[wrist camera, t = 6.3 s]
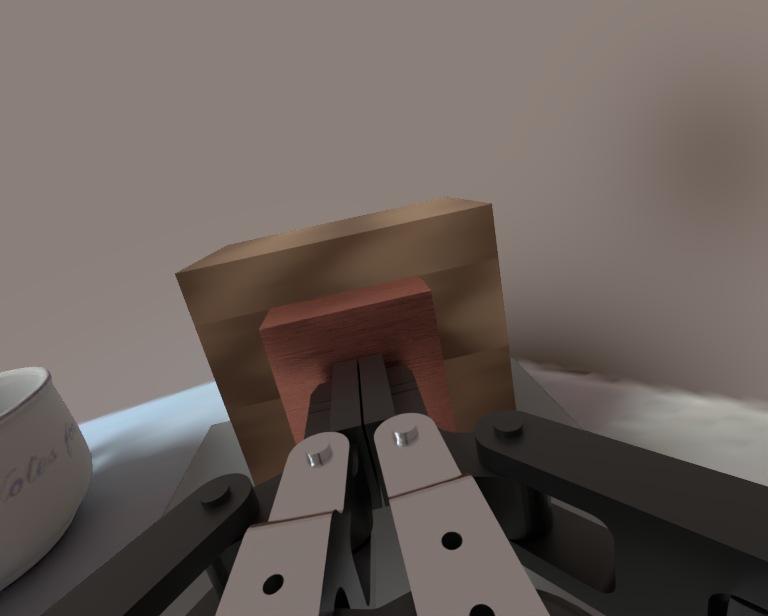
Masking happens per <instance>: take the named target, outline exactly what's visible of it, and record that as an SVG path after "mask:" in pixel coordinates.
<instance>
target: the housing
mask: <svg viewBox="0 0 768 616" xmlns="http://www.w3.org/2000/svg"><path fill="white" fill-rule="evenodd" d="M175 275H176V278H177V280H178V283H179V286H180V288H181V291H182V294H183V296H184V299H185V302H186V304H187V307H188V310H189V312H190V315H191V317H192V320H193V322H194V325H195V328H196V331H197V333H198V336H199V339H200V341H201V344H202V347H203V349H204V352H205V354H206V357H207V360H208V362H209V365H210V368H211V370H212V373H213V376H214V378H215V381H216V384H217V386H218V389H219V392H220V394H221V397H222V400H223V402H224V405H225V408H226V410H227V413H228V415H229V418H230V421H231V423H232V426H233V429H234V431H235V434H236V437H237V439H238V442H239V445H240V447H241V450H242V453H243V455H244V458H245V460H246V463H247V466H248V468H249V471H250V474H251V476H252V479H253V482H254V484H255V486H256V485H258V484H260V483H263V482H265V481H267V480H269V479H271V478H273V477H275V476H277V475H279V474H281V473H282V472H284V468H285V465H286V462H287V459H288V456H289V454H290V452H291V451H292V449H293V448H294V447H295V446H296V443H295V440H294V437H293V434H292V431H291V428H290V424H289V421H288V418H287V415H286V412H285V409H284V406H283V403H282V400H281V397H280V394H279V391H278V388H277V385H276V381H275V378H274V375H273V372H272V369H271V366H270V363H269V360H268V357H267V354H266V351H265V348H264V345H263V342H262V338H261V335H260V332H259V328H260V326H261V325H262V323H263V321H264V319H265V318H266V316H267V314H268V312H269V310H270V309H271V308H275V307H280V306H284V305H289V304H293V303H298V302H302V301H306V300H311V299H315V298H320V297H324V296H329V295H333V294H337V293H342V292H346V291H351V290H355V289H360V288H364V287H368V286H373V285H377V284H382V283H386V282H391V281H395V280H399V279H404V278H408V277H413V276H417V275H419V276H420V278H421V279H422V280H423V281H424V282H425V284H426V285H427V286H428V287H429V289H430V290H431V293H432V299H433V304H434V310H435V316H436V321H437V327H438V333H439V338H440V344H441V350H442V355H443V361H444V367H445V372H446V378H447V384H448V389H449V395H450V401H451V407H452V412H453V418H454V424H455V429H456V433H474V428H475V425H476V424H477V422H478V421H479V420H480V419H481V418H483V417H484V416H486V415H488V414H490V413H493V412H497V411H502V410H516V403H515V395H514V387H513V378H512V370H511V361H510V353H509V345H508V337H507V328H506V320H505V311H504V302H503V294H502V286H501V278H500V269H499V260H498V252H497V244H496V235H495V227H494V219H493V210H492V204H491V203H484V202H477V201H470V200H463V199H456V198H449V197H445V198H440V199H436V200H431V201H426V202H423V203H418V204H413V205H408V206H404V207H399V208H395V209H390V210H386V211H382V212H376V213H372V214H367V215H363V216H358V217H354V218H349V219H345V220H340V221H335V222H331V223H326V224H322V225H317V226H313V227H309V228H304V229H299V230H295V231H290V232H286V233H281V234H276V235H272V236H267V237H263V238H258V239H254V240H249V241H245V242H241V243H235V244H231V245H227V246H225V247H223V248H221V249H220V250H218V251H216V252H214V253H212V254H210V255H208V256H207V257H205V258H203V259H201V260H199V261H198V262H196V263H194V264H192V265H190V266H188V267H187V268H185V269H183V270H181V271H179V272H177V273H176V274H175Z"/></svg>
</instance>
